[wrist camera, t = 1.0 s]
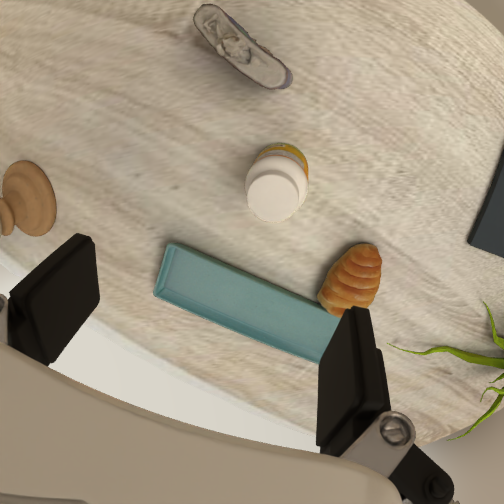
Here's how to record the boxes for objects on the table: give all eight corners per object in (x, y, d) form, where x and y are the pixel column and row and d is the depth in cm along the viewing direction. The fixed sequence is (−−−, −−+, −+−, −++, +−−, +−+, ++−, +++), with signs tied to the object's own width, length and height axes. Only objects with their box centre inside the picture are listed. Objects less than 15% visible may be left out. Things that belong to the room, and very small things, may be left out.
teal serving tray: (360, 316, 40) (362, 329, 38) (325, 356, 45) (325, 369, 43) (175, 232, 39) (167, 241, 36) (158, 284, 43) (151, 295, 41)
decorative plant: (484, 252, 33) (537, 329, 20) (536, 349, 39) (564, 409, 26) (384, 333, 41) (398, 422, 29) (463, 401, 47) (478, 463, 35)
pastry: (340, 232, 35) (344, 248, 32) (393, 248, 35) (400, 266, 32) (314, 295, 40) (314, 315, 37) (362, 308, 40) (365, 328, 37)
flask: (298, 78, 28) (293, 74, 18) (276, 96, 29) (261, 102, 20) (232, 17, 25) (198, -9, 16) (212, 36, 27) (169, 19, 17)
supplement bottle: (290, 200, 34) (283, 243, 26) (247, 174, 34) (225, 208, 25) (318, 160, 32) (322, 191, 23) (273, 132, 31) (259, 151, 23)
